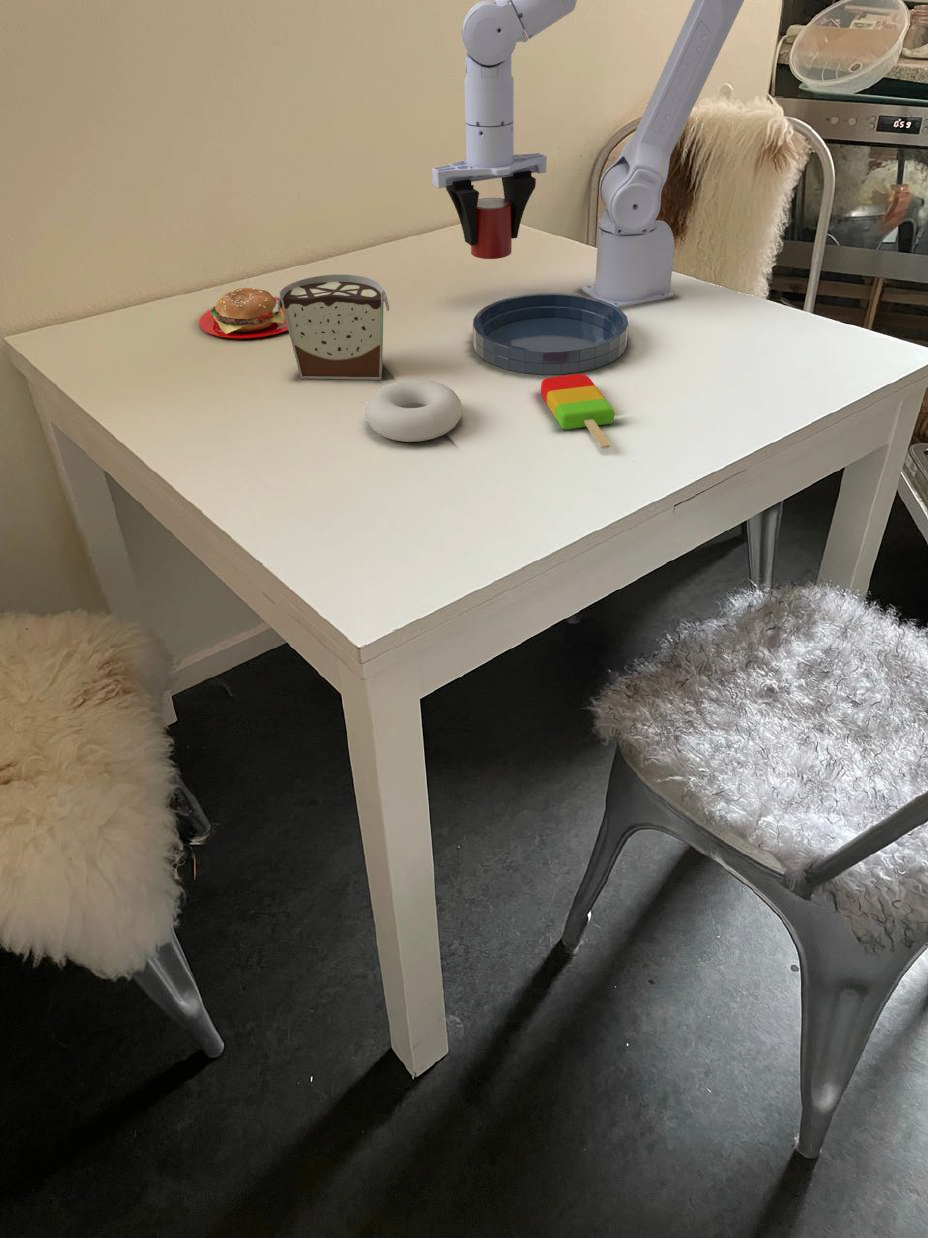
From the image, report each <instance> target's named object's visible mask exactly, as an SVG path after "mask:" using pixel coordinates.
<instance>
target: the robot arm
mask: <svg viewBox="0 0 928 1238" xmlns="http://www.w3.org/2000/svg"><path fill="white" fill-rule="evenodd" d="M744 1H745V0H693V2H692V4H691V7H690V9H689V11H688V14H687V16H686V18H685V20H684V22H683V24H682V27H681V29H680V31H679V33H678V36H677V38H676V40H675V43H674V45H673V47H672V49H671V51H670V54H669V55H668V58H667V60H666V62H665V65H664V67H663V69H662V72H661V73H660V76H659V79H658V80H657V83H656V85H655V87H654V90H653V91H652V94H651V96H650V99H649V101H648V103H647V105H646V107H645V109H644V112H643V114H642V116H641V118H640V121H639V123H638V125H637V127H636V129H635V132H634V134H633V136H632V137H631V138H630V139H629V140H628V141H627V143H626V144H624V146H623V148H622V149H621V152H620V153H619V156H618V158H617V159H616V160H615V161H614V163H613V164H611V166H609V167H608V168H607V169H606V170H605V171H604V173H603V174H602V177H601V178H600V182H599V196H600V199H601V202H602V203H603V206H605V207H606V209H605V210H604V212H603V214H602V216H601V217H600V218H599V220H598V228H597V229H598V230H597V245H596V246H597V247H596V251H597V252H596V265H595V281H594V282H595V284H591V285H584V286H582V289H581V290H582V292H584V293H585V294H587V295H588V296H589V297H591V298H595V299H599V300H602V301H605V302H607V303H610V304H612V305H614V306H616V307H617V308H619V309H620V308H624V307H628V306H634V305H638V304H639V305H640V304H643V303H649V302H653V301H659V300H664V299H669V298H673V297H674V293H673V292H672V291H671V285H672V276H673V267H674V266H673V265H674V258H675V238H674V233H673V230H672V228H671V227H670V225H669V224H668V223H667V222H666V221H664V220H659V219H658V220H656V219H657V218H658V217H659V216H658V215H659V214H660V211H661V205H662V193H663V189H664V186H665V183H666V182H667V180H668V175H669V168H670V161H671V157H672V156H671V155H672V154H673V151H674V149H675V147H676V145H677V143H678V142H679V141H678V140H679V139H680V137H681V135H682V132H683V130H684V128H685V126H686V124H687V122H688V120H689V117H690V116H691V114H692V111H693V109H694V108H695V106H696V103H697V101H698V99H699V97H700V95H701V93H702V90H703V88H704V86H705V84H706V82H707V80H708V77H709V75H710V73H711V71H712V69H713V68H714V65H715V63H716V61H717V59H718V57H719V54H720V52H721V50H722V48H723V46H724V43H725V42H726V40H727V37H728V35H729V34H730V31H731V30H732V27H733V25H734V23H735V21H736V19H737V17H738V14H739V12H740V11H741V8H742V6H743V4H744ZM577 2H578V0H482V1H479V2H477V3H475V4H474V5H473V6H471V7H470V9H469V10H468V11H467V13H466V15H465V17H464V20H463V22H462V28H461V29H460V30H461V31H460V32H461V38H462V42H463V44H464V48H465V50H466V51H467V52H466V54H465V60H464V71H465V73H466V74H465V78H464V80H463V82H464V85H463V86H464V88H463V89H464V119H465V121H464V122H465V148H466V149H465V154H466V155H465V157H466V159H464V160H459V161H457V162H453V163H449V164H445V165H441V166H435V167H432V168H431V178H432V179H431V181H432V186H434V187H435V188H437V189H444V188H445V190H446V192H447V193H448V195H449V197H450V199H451V201H452V203H453V206H454V208H455V210H456V212H457V216H458V219H459V222H460V224H461V225H460V226H461V229H462V233H463V238H464V242H465V243H467V245H469V246H470V247H471V246H472V245H476V242H477V228H476V214H477V204H478V199H479V197H480V192H479V191H478V190H477V189H476V188H474V187H475V185H474V184H472V182H474V183H475V182H481V181H489V180H495V179H501V184H502V189H503V199H506V200H509V201H511V203H512V240H513V239H517V238H518V236H519V230H520V225H521V221H522V218H523V215H524V211H525V209H526V206H527V204H528V202H529V200H530V198H531V196H532V194H533V192H534V190H535V189H536V184H537V179H536V177H534V176H532V174H535V173H537V174H546V173H547V162H548V161H547V157H548V156H547V155H546V154H543V153H541V152H536V153H535V152H533V153H522V154H514V83H515V81H514V80H515V79H514V77H513V75H512V55H513V53H514V51H515V49H516V46H517V43H519V42H520V43H527V42H528V41H529V40H531V39H533V38H534V37H536V36H538V34H540V33H542V32H543V31H545V30H546V29H547V28H549V27H551V26H552V25H555V23H557V22H559V21H560V20H562V19H563V18H565V17H566V16H567V15H569V14H571V13H573V12H574V11H575V9H576V6H577Z"/></svg>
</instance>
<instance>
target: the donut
mask: <svg viewBox="0 0 928 1238" xmlns="http://www.w3.org/2000/svg"><path fill="white" fill-rule="evenodd" d="M462 408H463V407H462V401H461V399H460V397H459V396H458V394H457V393H456V392H455V390H453V389H452V388H450V387H448V386H447V385H445V384H443V383H440V382H438V381H437V382H436V381H433V380H424V379H407V380H401V381H396V382H393V383H390V384H387V385H384V386H382V387H380V388H379V389H377V390H376V391H374V392H373V394H372V395H370V397H369V398H368V400H367V402H366V406H365V419H366V421H367V423H368V424H369V426H370V428H371V429H372V431H374V432H375V433H377V434H378V435H380V436H382V437H383V438H387V439H389V440H392V441H398V442H406V443H412V442H413V443H414V442H425V441H429V440H434V439H436V438H439V437H443V436H444V435H446V434H448V433H449V432H450V431H452V430H453V429H454V428H455V427H456V425H457V424H458V423H459V421H460V419H461V418H462V411H463V410H462Z"/></svg>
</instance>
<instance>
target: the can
mask: <svg viewBox="0 0 928 1238" xmlns="http://www.w3.org/2000/svg"><path fill="white" fill-rule="evenodd" d="M476 228H477V242H476V245H472V246H471V245H470V254H471V255H472V256H473V257H475V258H477V259H481V260H497V259H503V258H506V257H509V256H511V254H512V251H513V247H512V246H513V243H512V242H513V241H512V240H513V239H512V203H511V201H509V200H506V199H504V198H501V197H482V198H478V204H477V214H476Z"/></svg>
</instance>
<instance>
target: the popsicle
mask: <svg viewBox="0 0 928 1238" xmlns="http://www.w3.org/2000/svg"><path fill="white" fill-rule="evenodd" d="M540 396H541V398H542V399H543V401H544V402H545V403H546V405H547V407H548V409H549V410H550V412H551V413H552V415H553V417H554V418H555V419H556V421H557V423H558V424H559V426H560V428H561V429H562V430H564V431H565V430H571V429H572V430H573V429H581V428H587V430H588V431H589V432H590V434H591V435H592V437H593V438H594V440H595V441H596V443H597V444H598V445H599V447H600V449H609V448H610V447H611V443H610V441H609V440H608V438H607V437H606V436H605V434H604V433H603V431H602V429H601V428H600V426H603V425H611V424H613V423H614V420H615V410H614V409H613V407H612V405H610V403H609V402H608V400H606V398H605V397H604V395H603V394H602V392H601V391H600V390H599V389H598V387H597V386H596V384H595V383H594V382H593V380H592V379H591V378H590V377H589V376H587V374H583V373H572V374H563V375H558V376H549V377H546V378H544V379H543V380H542V381H541V384H540Z"/></svg>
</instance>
